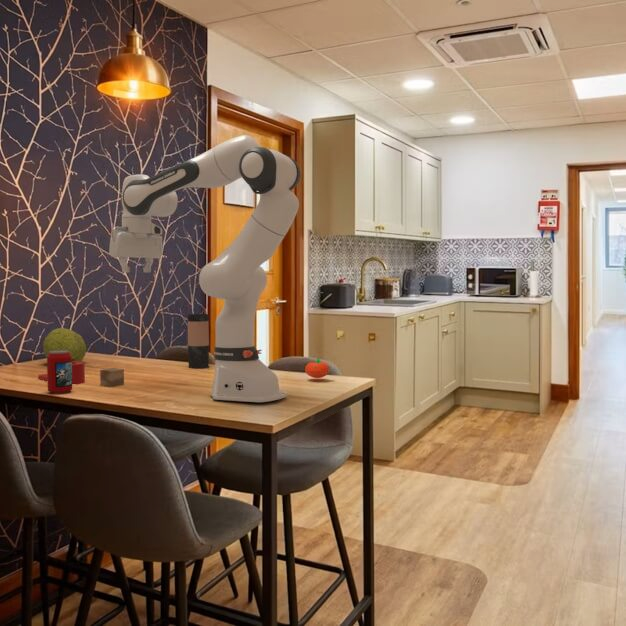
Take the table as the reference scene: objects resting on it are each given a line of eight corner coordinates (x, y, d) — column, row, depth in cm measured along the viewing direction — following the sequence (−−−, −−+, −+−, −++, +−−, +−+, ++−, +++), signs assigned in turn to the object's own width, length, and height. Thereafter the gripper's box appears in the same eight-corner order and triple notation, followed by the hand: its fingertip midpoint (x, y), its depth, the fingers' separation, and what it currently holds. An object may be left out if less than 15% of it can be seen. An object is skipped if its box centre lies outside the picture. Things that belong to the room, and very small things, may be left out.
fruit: (76, 371, 241) (75, 329, 240) (36, 371, 241) (35, 329, 240) (91, 365, 257) (91, 326, 256) (54, 365, 257) (53, 326, 256)
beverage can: (64, 394, 193) (63, 352, 192) (42, 393, 194) (41, 352, 194) (77, 390, 200) (76, 350, 199) (56, 390, 201) (55, 349, 200)
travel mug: (213, 368, 249) (212, 314, 248) (199, 370, 242) (198, 315, 241) (197, 366, 253) (197, 313, 252) (183, 369, 247) (182, 314, 246)
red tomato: (307, 375, 229) (307, 356, 229) (330, 376, 228) (330, 357, 227) (302, 378, 222) (302, 359, 222) (326, 379, 221) (326, 360, 220)
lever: (91, 383, 215) (90, 362, 214) (67, 387, 207) (67, 365, 206) (52, 379, 224) (52, 359, 223) (28, 383, 215) (27, 362, 215)
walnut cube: (124, 385, 211) (123, 369, 210) (111, 387, 206) (111, 371, 206) (112, 383, 213) (112, 368, 213) (100, 385, 209) (100, 369, 209)
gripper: (120, 225, 199) (120, 272, 200) (165, 229, 217) (165, 272, 218) (104, 225, 202) (104, 272, 202) (150, 229, 220) (150, 272, 221)
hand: (136, 272), depth 210 cm, fingers open, 8 cm apart
